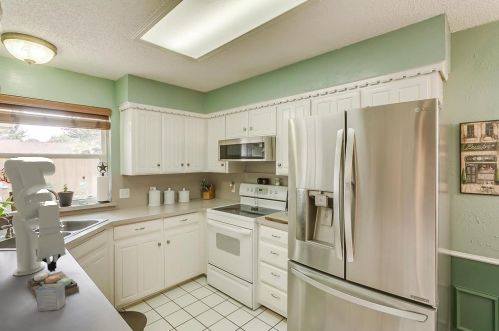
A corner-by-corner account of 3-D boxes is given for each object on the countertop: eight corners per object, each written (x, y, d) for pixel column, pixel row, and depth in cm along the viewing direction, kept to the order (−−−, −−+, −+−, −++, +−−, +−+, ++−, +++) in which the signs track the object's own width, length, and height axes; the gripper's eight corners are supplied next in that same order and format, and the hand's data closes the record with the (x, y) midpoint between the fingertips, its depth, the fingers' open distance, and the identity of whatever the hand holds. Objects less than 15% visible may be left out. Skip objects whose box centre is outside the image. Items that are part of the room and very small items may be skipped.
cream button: (33, 279, 118) (32, 275, 118) (46, 275, 122) (46, 271, 121) (35, 282, 114) (35, 278, 114) (49, 278, 118) (49, 274, 118)
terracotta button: (44, 282, 114) (43, 278, 114) (57, 278, 118) (57, 274, 118) (46, 286, 111) (46, 281, 111) (60, 281, 115) (60, 277, 115)
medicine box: (66, 304, 102) (64, 282, 101) (58, 310, 97) (56, 288, 97) (45, 305, 101) (44, 283, 101) (36, 311, 97) (35, 289, 97)
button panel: (27, 285, 118) (27, 278, 118) (61, 275, 128) (61, 268, 128) (41, 304, 102) (41, 296, 102) (79, 291, 112) (78, 283, 112)
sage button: (55, 285, 111) (55, 281, 111) (69, 281, 115) (69, 276, 115) (59, 289, 108) (58, 284, 108) (72, 284, 112) (72, 280, 112)
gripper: (67, 226, 122) (69, 263, 123) (26, 233, 111) (28, 275, 111) (72, 228, 118) (74, 267, 118) (30, 236, 106) (32, 279, 106)
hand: (52, 271), depth 114 cm, fingers closed
